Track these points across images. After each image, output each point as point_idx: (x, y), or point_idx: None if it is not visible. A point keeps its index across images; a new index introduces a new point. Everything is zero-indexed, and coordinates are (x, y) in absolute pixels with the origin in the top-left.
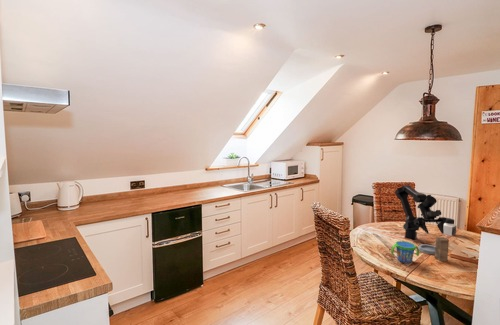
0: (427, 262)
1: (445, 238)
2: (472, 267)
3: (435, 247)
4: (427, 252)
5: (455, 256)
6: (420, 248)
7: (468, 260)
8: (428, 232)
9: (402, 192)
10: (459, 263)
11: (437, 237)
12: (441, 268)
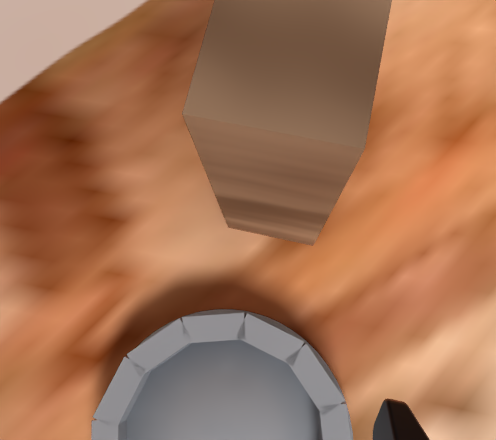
0: (485, 160)
1: (210, 47)
2: (136, 8)
3: (328, 213)
4: (318, 359)
5: (60, 227)
6: None
7: (26, 126)
8: (392, 408)
9: None
10: (175, 88)
11: (343, 125)
12: (436, 34)
